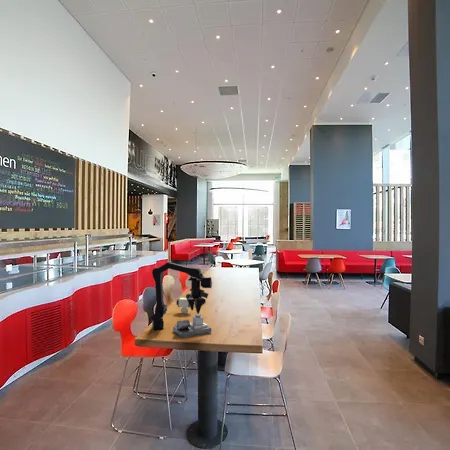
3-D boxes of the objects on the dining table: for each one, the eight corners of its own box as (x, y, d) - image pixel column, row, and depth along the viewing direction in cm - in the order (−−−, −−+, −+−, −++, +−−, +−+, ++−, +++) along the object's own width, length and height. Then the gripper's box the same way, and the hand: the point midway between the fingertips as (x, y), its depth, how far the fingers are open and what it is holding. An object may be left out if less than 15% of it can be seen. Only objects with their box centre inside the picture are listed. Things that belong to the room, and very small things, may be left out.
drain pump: (195, 327, 194) (196, 316, 194) (192, 325, 199) (192, 314, 199) (203, 326, 197) (203, 315, 197) (199, 324, 201) (199, 313, 201)
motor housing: (179, 338, 184) (179, 324, 184) (171, 331, 196) (171, 318, 196) (211, 332, 194) (211, 319, 195) (201, 326, 207) (201, 314, 207)
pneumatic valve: (178, 311, 245) (178, 296, 245) (192, 312, 243) (192, 296, 243) (175, 313, 239) (176, 297, 239) (190, 314, 238) (190, 298, 238)
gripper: (213, 289, 195) (212, 314, 195) (201, 284, 212) (200, 307, 211) (197, 290, 190) (196, 316, 190) (185, 285, 206) (185, 309, 206)
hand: (195, 311), depth 199 cm, fingers open, 9 cm apart
